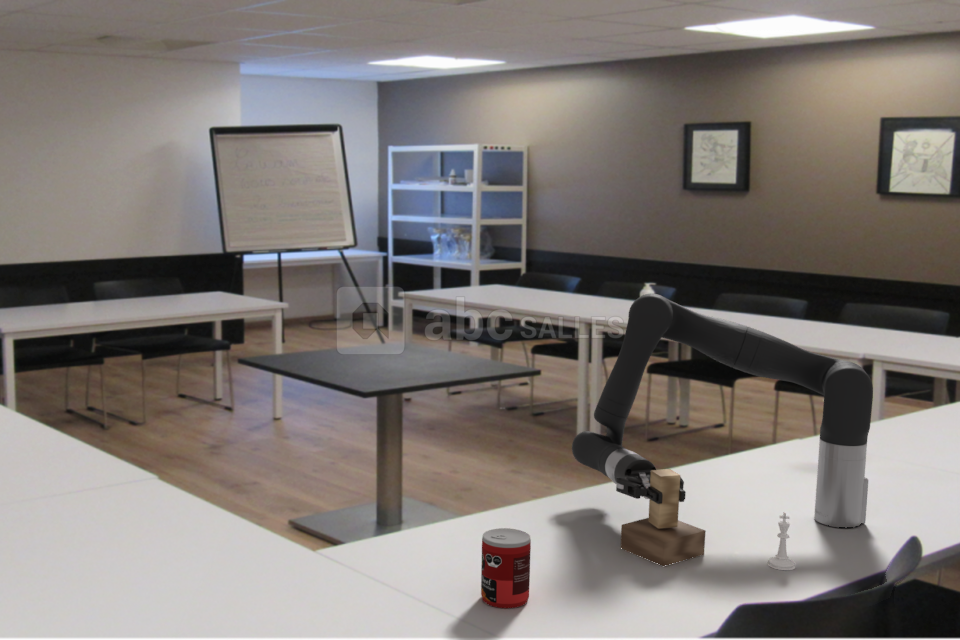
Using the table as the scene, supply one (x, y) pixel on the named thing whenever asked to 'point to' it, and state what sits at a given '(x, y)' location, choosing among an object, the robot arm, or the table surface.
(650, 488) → the robot arm
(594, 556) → the table surface
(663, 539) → the walnut block
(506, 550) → the canned food
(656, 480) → the oak block
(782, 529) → the chess piece
